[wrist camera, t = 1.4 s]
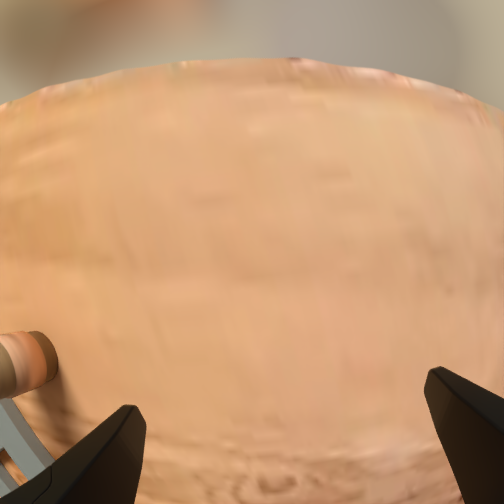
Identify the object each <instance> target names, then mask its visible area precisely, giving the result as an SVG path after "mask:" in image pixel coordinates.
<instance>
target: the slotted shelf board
mask: <svg viewBox="0 0 504 504" xmlns="http://www.w3.org/2000/svg"><path fill="white" fill-rule="evenodd" d="M3 449H5V450H6V451H7V453H8V454H9V455H10V457H11V458H12V460H13V461H14V462H15V464H16V465H17V466H18V468H19V469H20V470H21V472H22V473H23V474H24V475H25V477H26V478H27V479H28V480H31V479H32V478H34V477H35V476H36V475H38V474H39V473H40V472H42V471H43V470H44V469H46V468H47V467H48V466H49V465H51V464H52V463H53V462H54V461H55V460H54V459H53V457H52V456H51V455H50V454H49V452H48V451H47V450H46V449H45V447H44V446H43V445H42V443H41V442H40V441H39V439H38V438H37V436H36V435H35V434H34V432H33V431H32V429H31V428H30V426H29V425H28V424H27V422H26V421H25V419H24V418H23V416H22V414H21V413H20V411H19V410H18V408H17V407H16V405H15V403H14V402H13V400H12V398H10V399H7V398H4V399H1V400H0V452H1V451H2V450H3ZM18 487H19V486H18V484H17V483H16V482H15V481H14V479H13V478H12V477H11V475H10V474H9V473H8V471H7V470H6V469H5V467H4V466H3V465H2V463H1V462H0V497H3V496H4V495H6V494H8V493H10V492H11V491H13V490H15V489H16V488H18Z"/></svg>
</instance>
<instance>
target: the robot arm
mask: <svg viewBox="0 0 504 504" xmlns="http://www.w3.org/2000/svg"><path fill="white" fill-rule="evenodd" d="M424 395H425V398H426V401H427V404H428V407H429V410H430V413H431V416H432V419H433V423H434V426H435V429H436V432H437V434H438V437H439V439H440V442H441V444H442V446H443V449H444V451H445V453H446V456H447V458H448V461H449V463H450V466H451V468H452V471H453V473H454V476H455V478H456V481H457V483H458V486H459V489H460V491H461V494H462V497H463V500H464V503H465V504H504V398H502V397H500V396H498V395H496V394H494V393H492V392H490V391H488V390H486V389H484V388H482V387H480V386H478V385H477V384H475V383H473V382H471V381H469V380H467V379H465V378H463V377H461V376H459V375H457V374H456V373H454V372H452V371H450V370H448V369H446V368H444V367H442V366H439V367H436V368H433V369H430V370H429V372H428V375H427V379H426V383H425V386H424ZM145 436H146V422H145V420H144V418H143V416H142V414H141V412H140V411H139V409H138V407H137V406H136V405H123V406H121V407H120V408H119V409H118V410H117V411H116V412H114V413H113V414H112V415H111V416H110V417H108V418H107V419H106V420H105V421H104V422H102V423H101V424H100V425H99V426H98V427H96V428H95V429H94V430H93V431H92V432H90V433H89V434H88V435H87V436H85V437H84V438H83V439H82V440H81V441H79V442H78V443H77V444H76V445H74V446H73V447H72V448H71V449H69V450H68V451H67V452H66V453H65V454H63V455H62V456H61V457H60V458H58V459H57V460H56V461H54V462H53V463H52V464H51V465H49V466H48V467H47V468H46V469H44V470H43V471H42V472H40V473H39V474H38V475H36V476H35V477H34V478H32V479H31V480H29V481H28V482H26V483H24V484H23V485H21V486H20V487H18V488H16V489H15V490H13V491H11V492H10V493H8V494H6V495H4V496H3V497H1V498H0V504H134V502H135V497H136V493H137V488H138V483H139V479H140V474H141V469H142V463H143V454H144V445H145Z"/></svg>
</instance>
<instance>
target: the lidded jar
mask: <svg viewBox="0 0 504 504" xmlns="http://www.w3.org/2000/svg"><path fill="white" fill-rule="evenodd" d="M57 370H58V359H57V354H56V351H55V349H54V346H53V345H52V343H51V341H50V340H49V339H48V337H46V336H45V335H44V334H43V333H41V332H38V331H33V332H24V331H20V332H14V333H8V334H2V335H0V400H1V399H4V398H7V399H10V398H13V397H16V396H18V395H21V394H23V393H26V392H28V391H31V390H33V389H35V388H38V387H40V386H42V385H43V383H44V382H47V381H49V380H51V379H53V378H54V377H55V375H56V373H57Z"/></svg>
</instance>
